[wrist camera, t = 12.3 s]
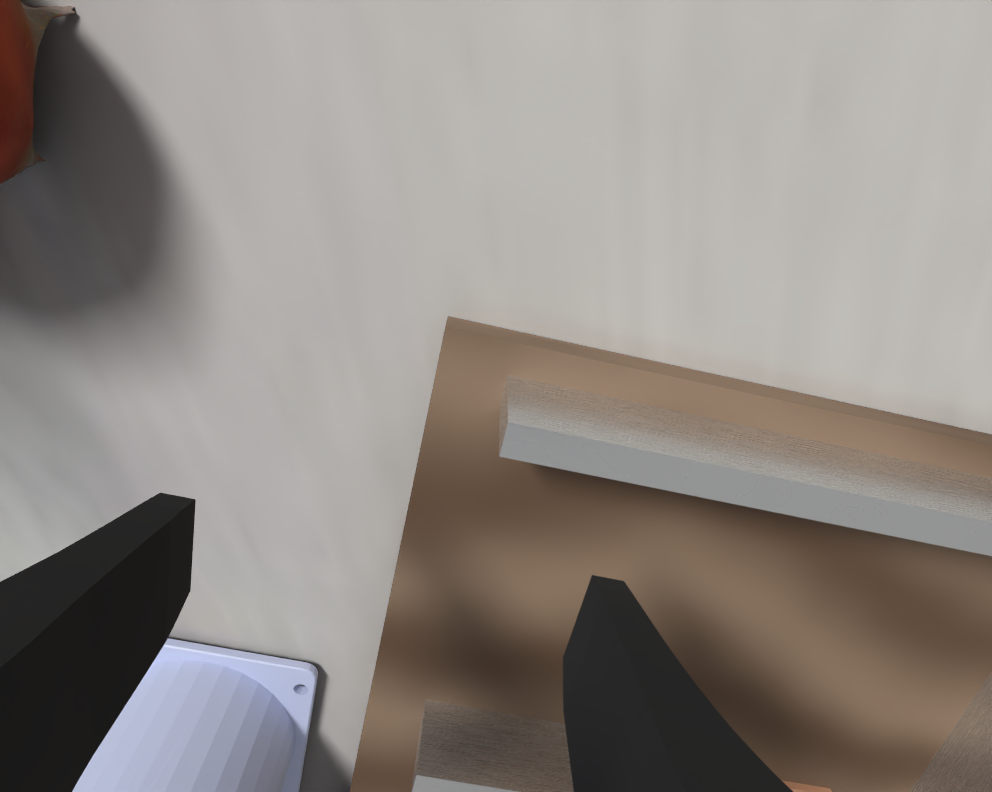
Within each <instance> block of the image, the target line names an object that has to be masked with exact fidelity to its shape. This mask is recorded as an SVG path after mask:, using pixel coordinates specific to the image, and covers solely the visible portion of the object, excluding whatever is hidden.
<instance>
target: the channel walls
mask: <svg viewBox="0 0 992 792" xmlns="http://www.w3.org/2000/svg"><path fill="white" fill-rule="evenodd" d="M499 457H504V458H509V459H514V460H519V461H524V462H528V463H533V464H538V465H543V466H548V467H553V468H558V469H563V470H568V471H573V472H578V473H583V474H588V475H593V476H598V477H603V478H608V479H613V480H617V481H622V482H627V483H632V484H637V485H642V486H647V487H652V488H657V489H662V490H667V491H672V492H677V493H682V494H687V495H692V496H697V497H702V498H706V499H711V500H716V501H721V502H726V503H731V504H736V505H741V506H746V507H751V508H756V509H761V510H766V511H771V512H776V513H781V514H786V515H791V516H795V517H800V518H805V519H810V520H815V521H820V522H825V523H830V524H835V525H840V526H845V527H850V528H855V529H860V530H865V531H870V532H875V533H879V534H884V535H889V536H894V537H899V538H904V539H909V540H914V541H919V542H924V543H929V544H934V545H939V546H944V547H949V548H954V549H959V550H964V551H968V552H973V553H978V554H983V555H988V556H992V478H991V477H986V476H981V475H977V474H972V473H967V472H962V471H958V470H953V469H948V468H944V467H939V466H934V465H929V464H925V463H920V462H915V461H911V460H906V459H901V458H896V457H892V456H887V455H882V454H878V453H873V452H868V451H863V450H859V449H854V448H849V447H845V446H840V445H835V444H830V443H826V442H821V441H816V440H812V439H807V438H802V437H797V436H793V435H788V434H783V433H779V432H774V431H769V430H765V429H760V428H755V427H750V426H746V425H741V424H736V423H732V422H727V421H722V420H717V419H713V418H708V417H703V416H699V415H694V414H689V413H684V412H680V411H675V410H670V409H666V408H661V407H656V406H651V405H647V404H642V403H637V402H633V401H628V400H623V399H618V398H614V397H609V396H604V395H600V394H595V393H590V392H585V391H581V390H576V389H571V388H567V387H562V386H557V385H552V384H548V383H543V382H538V381H534V380H529V379H524V378H520V377H515V376H510V375H507V379H506V383H505V387H504V391H503V395H502V399H501V403H500V424H499ZM411 792H574V789H573V782H572V774H571V767H570V760H569V752H568V744H567V736H566V729H565V724H564V723H558V722H552V721H546V720H540V719H535V718H529V717H523V716H517V715H511V714H505V713H500V712H494V711H488V710H482V709H476V708H470V707H465V706H459V705H453V704H447V703H441V702H435V701H430V700H425V704H424V708H423V712H422V716H421V721H420V729H419V736H418V744H417V752H416V760H415V768H414V775H413V783H412V791H411ZM909 792H992V673H991V675H990V676H989V677H988V679H987V680H986V682H985V683H984V685H983V686H982V688H981V689H980V690H979V692H978V693H977V695H976V696H975V698H974V699H973V701H972V702H971V703H970V705H969V706H968V708H967V709H966V711H965V712H964V713H963V715H962V716H961V718H960V719H959V721H958V722H957V724H956V725H955V726H954V728H953V729H952V731H951V732H950V734H949V735H948V737H947V738H946V739H945V741H944V742H943V744H942V745H941V747H940V748H939V750H938V751H937V752H936V754H935V755H934V757H933V758H932V760H931V761H930V763H929V764H928V765H927V767H926V768H925V770H924V771H923V773H922V774H921V776H920V777H919V778H918V780H917V781H916V783H915V784H914V786H913V787H912V789H911V790H910V791H909Z"/></svg>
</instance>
